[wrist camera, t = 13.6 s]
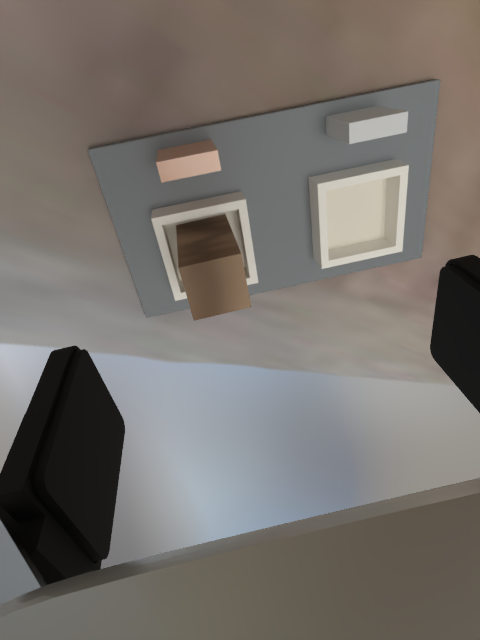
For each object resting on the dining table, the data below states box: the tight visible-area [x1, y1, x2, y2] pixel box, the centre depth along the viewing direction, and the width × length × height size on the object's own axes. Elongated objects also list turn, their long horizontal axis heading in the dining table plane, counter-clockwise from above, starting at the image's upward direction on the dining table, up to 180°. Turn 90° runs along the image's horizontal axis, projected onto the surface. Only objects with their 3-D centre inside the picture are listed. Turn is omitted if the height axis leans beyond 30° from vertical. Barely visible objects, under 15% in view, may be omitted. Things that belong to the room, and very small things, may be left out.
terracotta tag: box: [156, 139, 221, 183], centre depth 30 cm, size 4×1×5 cm, turn 99°
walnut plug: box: [176, 214, 251, 320], centre depth 33 cm, size 4×4×9 cm
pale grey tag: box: [326, 106, 408, 144], centre depth 31 cm, size 4×1×5 cm, turn 99°
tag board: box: [88, 79, 440, 318], centre depth 35 cm, size 29×16×4 cm, turn 99°
